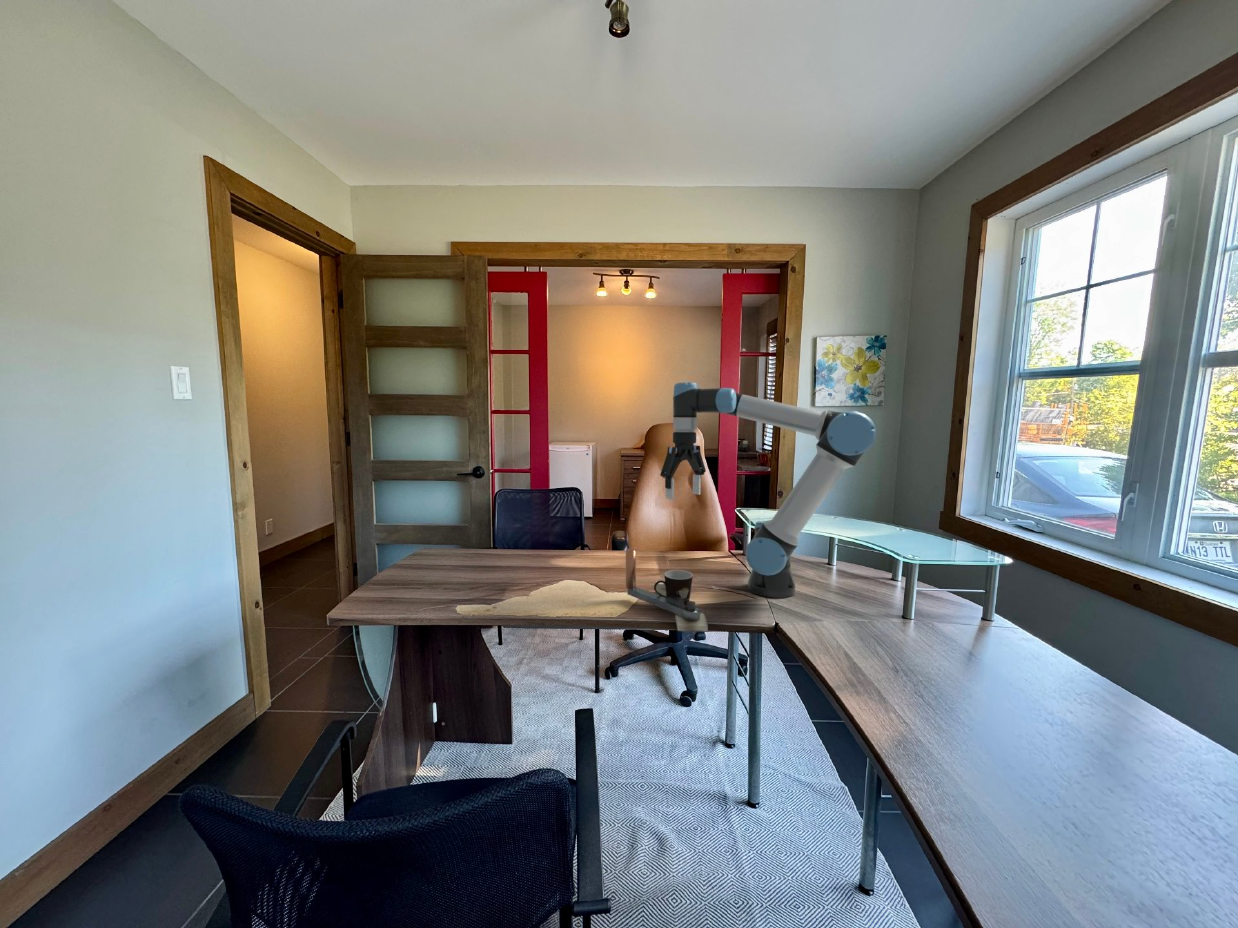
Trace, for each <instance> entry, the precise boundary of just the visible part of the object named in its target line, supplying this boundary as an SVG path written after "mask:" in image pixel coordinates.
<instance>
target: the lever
mask: <svg viewBox="0 0 1238 928" xmlns="http://www.w3.org/2000/svg"><path fill="white" fill-rule="evenodd" d="M636 580H637V549H636V548H626V549H625V588H626V589H627V590H626V591H627V594H626V595H628V596H631V597H633V598H636V599H638V600H640V601H643V602H646V603H649V604H651V605H652V606H656V607H658V608H660V609H663V610H665V611H668V612H671V613H674V614H678V615H680V616H682V617H683V618H684V619H686V620H689V621H696V620H699V619H700V613H701V609H700V608H698V607H696V606H695V611H689V610H687V606H686V605H684V598H681V597H678V596H674V595H670V596H666V597H667V598H664V597H662V596H659V595H656V594H655V592H650V591H648V590H646V589H642V588H640V587H638V586H636V585H637V581H636Z"/></svg>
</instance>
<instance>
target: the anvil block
mask: <svg viewBox="0 0 1238 928" xmlns="http://www.w3.org/2000/svg"><path fill="white" fill-rule="evenodd" d="M657 581H658V580H656V581H655V583H656V582H657ZM655 583H654V584H655ZM656 590H657V591H658V593H660V594H662V595H664V596H665V597H667V596H666V587H665V584H664V583H658V584H657V586H656ZM654 594H656V595H658V594H657V593H656V592H654ZM659 596H660V595H659Z"/></svg>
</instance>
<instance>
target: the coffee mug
mask: <svg viewBox="0 0 1238 928" xmlns="http://www.w3.org/2000/svg"><path fill="white" fill-rule="evenodd" d="M663 576H664V577H663V578H664V580H661V579H660V580H656V581H657V582H656V583H654V586H653V590H654V591H655V592H656V593H657V594H658V595H660V596H662V597H664V598H667V596H670V595H674V596H678V597H681V598H684V605H686V606H687V602H688V601H691V600H690V598H691V591H692V585H693V577H694V574H693V573H692V572H691V571H688V570H683V569H670V570H667V571H665V572H664V575H663ZM658 583H664V584H665V587H666V596H664V595H662V594H660V593H658V591H657V590H656V586H657V584H658ZM655 592H654V593H655Z"/></svg>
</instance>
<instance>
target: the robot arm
mask: <svg viewBox="0 0 1238 928" xmlns="http://www.w3.org/2000/svg"><path fill="white" fill-rule="evenodd" d="M672 400H673V402H672V404H673V406H672V409H673V415H672V416H673V419H672V422H673V423H672V424H673V425H672V429H673V432H672V443H673V444H674V446H668V447H667V452H666V453H667V454H666V457H665V459H664V462H663V466H662V468H661V471H660V474H659V475H660V477H661V478H663V479H664V483H665V484H664V487H665V499H668V500H674V499H675V478H674V475H675V473H676V472H677V469H678V468H679V467H680V465H681V463H682V462H683V461H687V462H688V464H689V465H690V467H691V470H692V471H693V474H692V494H693V495H701V484H702V476H704V475H705V473H706V471H707V470H706V469H707V468H706V466H705V463H704V460H703V457H702V451H701V445H697V444H696V443H697V432H696V430H697V429H698V427H697V425H698V423H697V422H698V421H697V419H698V418H697V417H698V413H701V414H702V413H706V414H707V413H711V414H712V413H714V414H725V415H729V416H732V417H738V418H741V419H746V420H750V421H754V422H758V423H762V424H766V425H770V426H775V427H778V428H782V429H786V430H790V431H793V432H799V433H802V434H806V435H810V436H814V437H815V438H816V440H817V441H818V442H817V443H816V444H815V446H816V447H815V448H816V451H817V452H816V454H815V456H814V457H813V459H812V460H811V461H810V463H809V465H808V466H807V468H806V469H805V470H804V471H803V474H802V475H801V476H800V477H799V479H798V481H797V482H796V484H795V485H794V487H793V488H792V489H791V490H790V493H789V494H788V496H787V497H786V498H785V500H784V501H783V502H782V504H781V505H780V507H779V509H778V510H777V512H776V513H775V514H774V516H773V517H772V519H770V520H759V521H756V522H755V524H754V536H753V538H752V539H751V541H749V542H748V544H747V545H746V549H745V557H746V558H745V560H746V561H747V564H748V566H750V568H751V571H750V574H749V577H748V581H747V589H748V590H749V591H750V592H752V593H753V594H756V595H759V596H762V597H768V598H775V599H777V598H779V599H780V598H781V599H783V598H789V597H792V596H794V595H796V583H795V580H794V576H793V573H792V570H791V564H792V563H791V562H792V554H793V553H794V552H795V550H796V548H797V547H798V546H799V544H800V543H799V538H798V536H799V535H800V534H801V532H802V531H803V529H804V528H805V526H806V525H807V524H808V523H809V521H810V519H811V518H812V517H813V515H814V514H815V512H817V510H818V508H819V506H820V505H822V502H823V501H824V500H825V498H826V497H827V496H828V494H829V493H830V492H831V490H832V489H833V487H834V485H835V484H836V483H837V481H838V480H839V478H840V477H841V476H842V474H843V473H844V472H845V470H847V469H850V468H854V467H856V465H857V463H858V462H859V460H860V459H861V458H862V457H863V455H864V453H865V452H866V451H868V450H869V449H870V448H871V447H872V446H873V444H874V443H875V441H876V435H877V429H876V426H875V425H876V424H874V421H873V420H872V419H871V417H869V416H868V415H866V414H865V413H863V412H860V411H857V410H847V411H843V412H842V411H841V412H840V411H835V410H829V409H826V410H824V411H818V410H813V409H808V408H805V407H801V406H797V405H791V404H787V403H783V402H779V401H774V400H769V399H766V398H760V397H755V396H752V395H748V394H741V393H738V392H736V390H735V389H734V388H731V387H730V388H729V387H718V388H698V383H696V382H677V383H675V384H674V386H673V397H672ZM694 444H696V445H694Z"/></svg>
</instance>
